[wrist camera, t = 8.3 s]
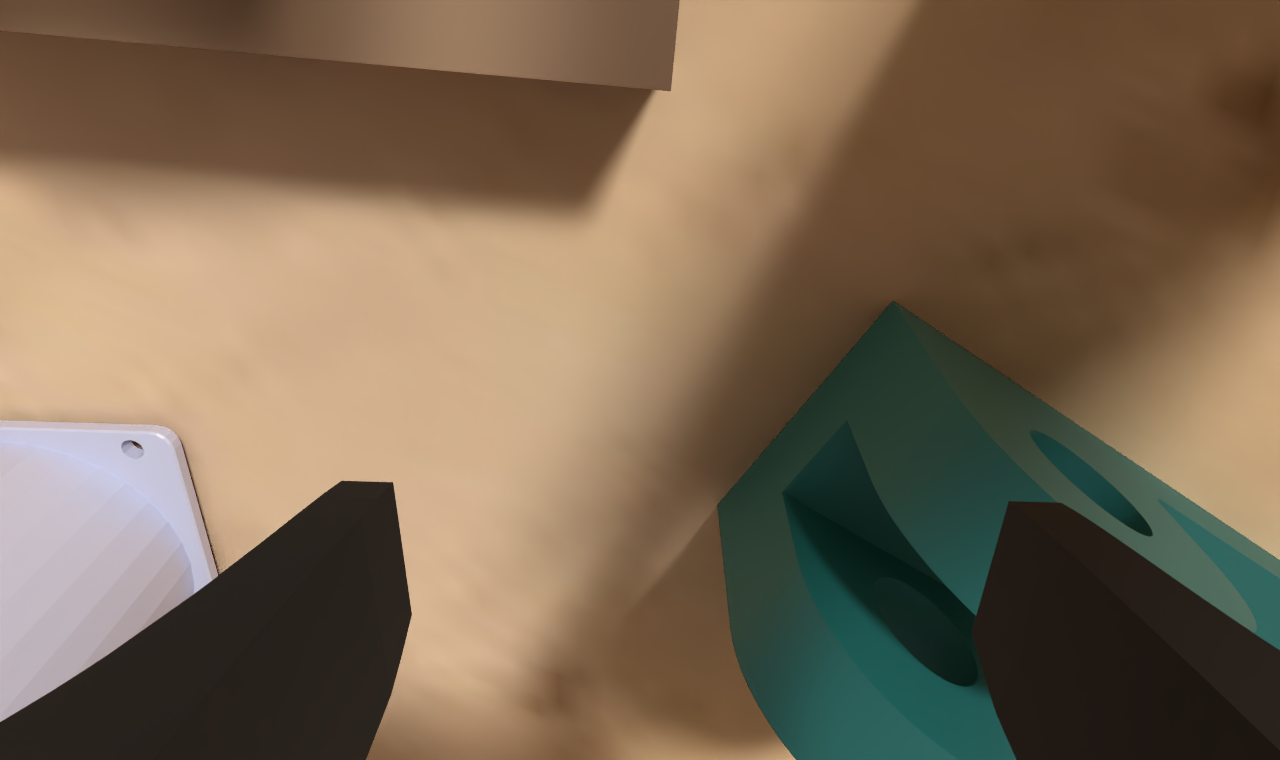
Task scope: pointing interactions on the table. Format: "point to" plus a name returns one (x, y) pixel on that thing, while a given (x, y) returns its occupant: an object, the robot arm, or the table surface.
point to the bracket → (927, 546)
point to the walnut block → (393, 32)
